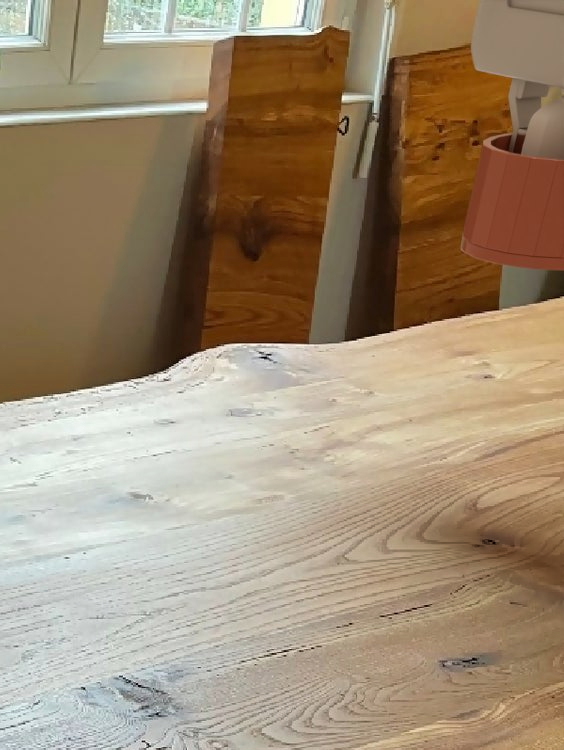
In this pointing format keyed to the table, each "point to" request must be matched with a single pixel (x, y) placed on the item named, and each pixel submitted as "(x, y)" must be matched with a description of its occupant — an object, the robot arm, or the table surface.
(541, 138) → the eye dropper bottle
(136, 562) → the table surface
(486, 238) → the cup
